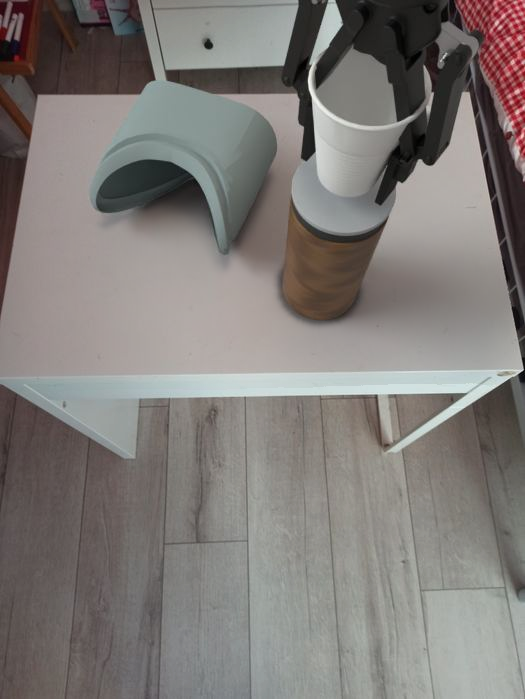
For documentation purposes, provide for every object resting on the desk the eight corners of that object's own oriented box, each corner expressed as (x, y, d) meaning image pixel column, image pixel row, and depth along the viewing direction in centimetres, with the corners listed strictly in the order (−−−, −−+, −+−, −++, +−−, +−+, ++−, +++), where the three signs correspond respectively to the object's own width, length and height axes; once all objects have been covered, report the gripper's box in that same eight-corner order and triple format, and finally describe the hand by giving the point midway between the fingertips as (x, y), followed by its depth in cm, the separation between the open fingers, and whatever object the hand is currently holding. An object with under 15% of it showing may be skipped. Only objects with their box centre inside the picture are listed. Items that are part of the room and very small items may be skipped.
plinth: (370, 279, 72) (409, 193, 54) (329, 334, 69) (355, 263, 51) (310, 241, 75) (327, 145, 56) (267, 292, 72) (270, 209, 53)
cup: (288, 204, 48) (296, 115, 38) (309, 128, 51) (321, 27, 41) (388, 225, 47) (424, 140, 37) (402, 146, 50) (439, 48, 40)
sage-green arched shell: (276, 176, 79) (278, 113, 67) (231, 273, 73) (225, 222, 61) (153, 137, 81) (134, 69, 69) (100, 227, 75) (69, 170, 63)
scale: (409, 193, 54) (415, 179, 51) (355, 263, 51) (359, 251, 48) (327, 145, 56) (330, 130, 54) (270, 209, 53) (270, 196, 51)
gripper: (228, -137, 29) (242, 146, 50) (556, 14, 24) (418, 253, 46) (302, -193, 31) (285, 102, 52) (615, -63, 26) (457, 200, 48)
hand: (347, 172), depth 49 cm, fingers closed on cup, 8 cm apart
